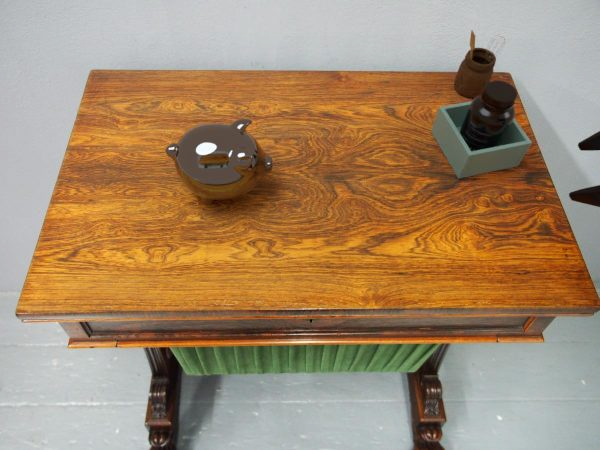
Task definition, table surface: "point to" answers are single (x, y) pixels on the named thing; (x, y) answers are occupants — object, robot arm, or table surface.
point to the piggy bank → (220, 160)
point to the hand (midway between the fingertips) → (574, 170)
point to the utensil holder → (475, 70)
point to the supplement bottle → (489, 116)
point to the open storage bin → (478, 160)
